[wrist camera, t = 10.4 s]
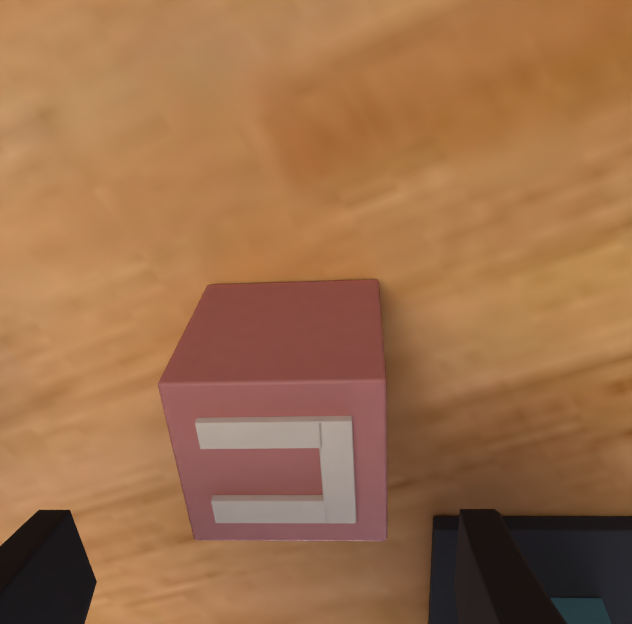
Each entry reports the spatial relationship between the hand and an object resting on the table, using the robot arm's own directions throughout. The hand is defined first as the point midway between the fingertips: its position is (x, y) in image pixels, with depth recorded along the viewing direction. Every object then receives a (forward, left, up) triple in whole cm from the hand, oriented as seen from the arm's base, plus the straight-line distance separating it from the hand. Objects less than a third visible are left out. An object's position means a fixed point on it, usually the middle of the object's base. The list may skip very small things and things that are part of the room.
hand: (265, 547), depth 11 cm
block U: (0, 0, -7) cm, 7 cm away
